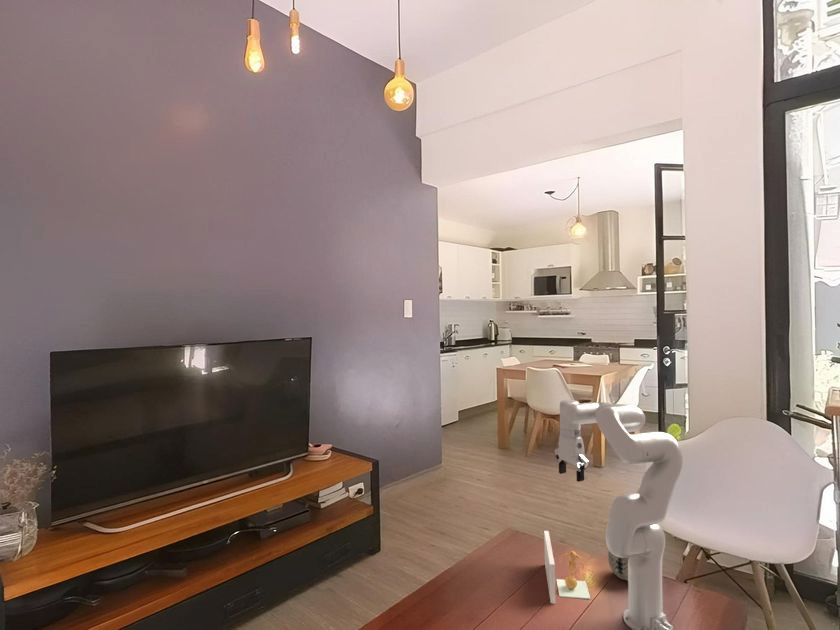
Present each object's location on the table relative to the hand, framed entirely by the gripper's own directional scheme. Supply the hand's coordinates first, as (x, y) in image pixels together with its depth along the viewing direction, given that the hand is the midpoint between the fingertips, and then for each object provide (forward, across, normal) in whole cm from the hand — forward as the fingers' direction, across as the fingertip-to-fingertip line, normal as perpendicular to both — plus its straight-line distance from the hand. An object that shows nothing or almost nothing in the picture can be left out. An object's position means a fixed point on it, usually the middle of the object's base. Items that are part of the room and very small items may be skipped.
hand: (571, 476), depth 183 cm
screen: (+32, -8, +18) cm, 38 cm away
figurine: (+32, -14, +13) cm, 37 cm away
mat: (+32, -14, +13) cm, 38 cm away
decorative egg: (+32, -18, -8) cm, 38 cm away
